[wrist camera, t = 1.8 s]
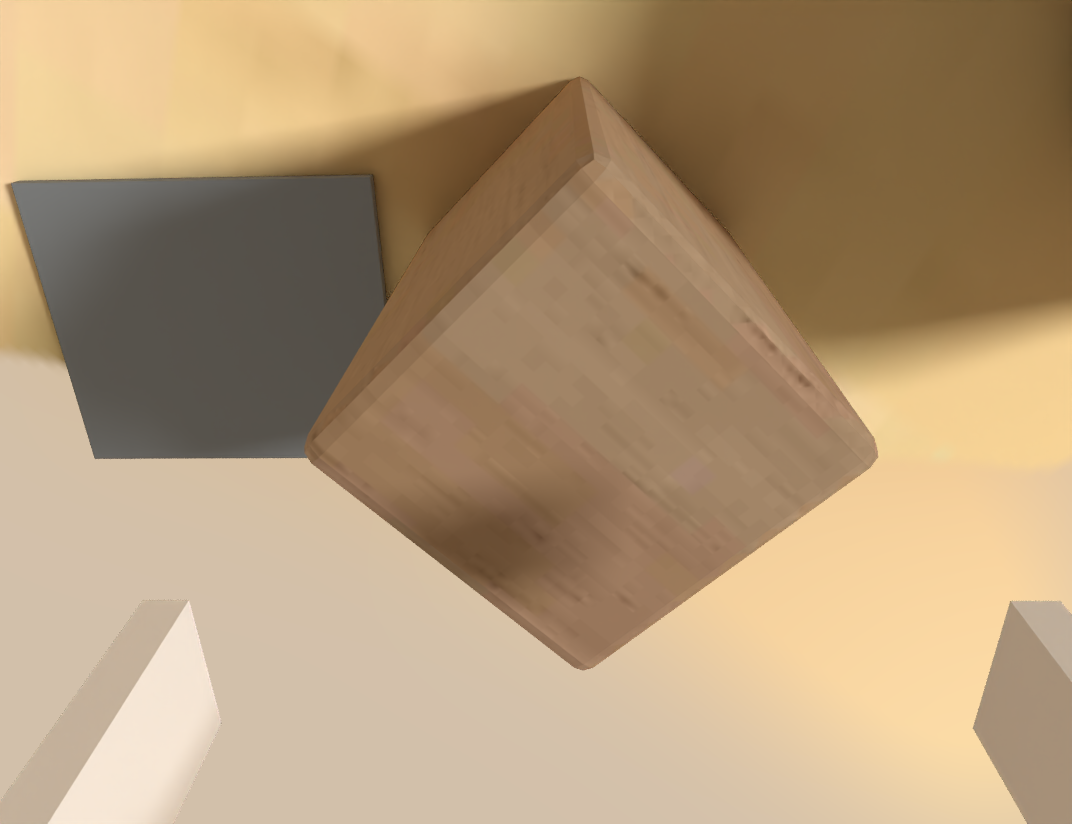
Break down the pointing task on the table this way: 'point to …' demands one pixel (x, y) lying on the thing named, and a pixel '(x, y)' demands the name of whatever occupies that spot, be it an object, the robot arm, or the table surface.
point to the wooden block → (586, 392)
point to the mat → (206, 305)
